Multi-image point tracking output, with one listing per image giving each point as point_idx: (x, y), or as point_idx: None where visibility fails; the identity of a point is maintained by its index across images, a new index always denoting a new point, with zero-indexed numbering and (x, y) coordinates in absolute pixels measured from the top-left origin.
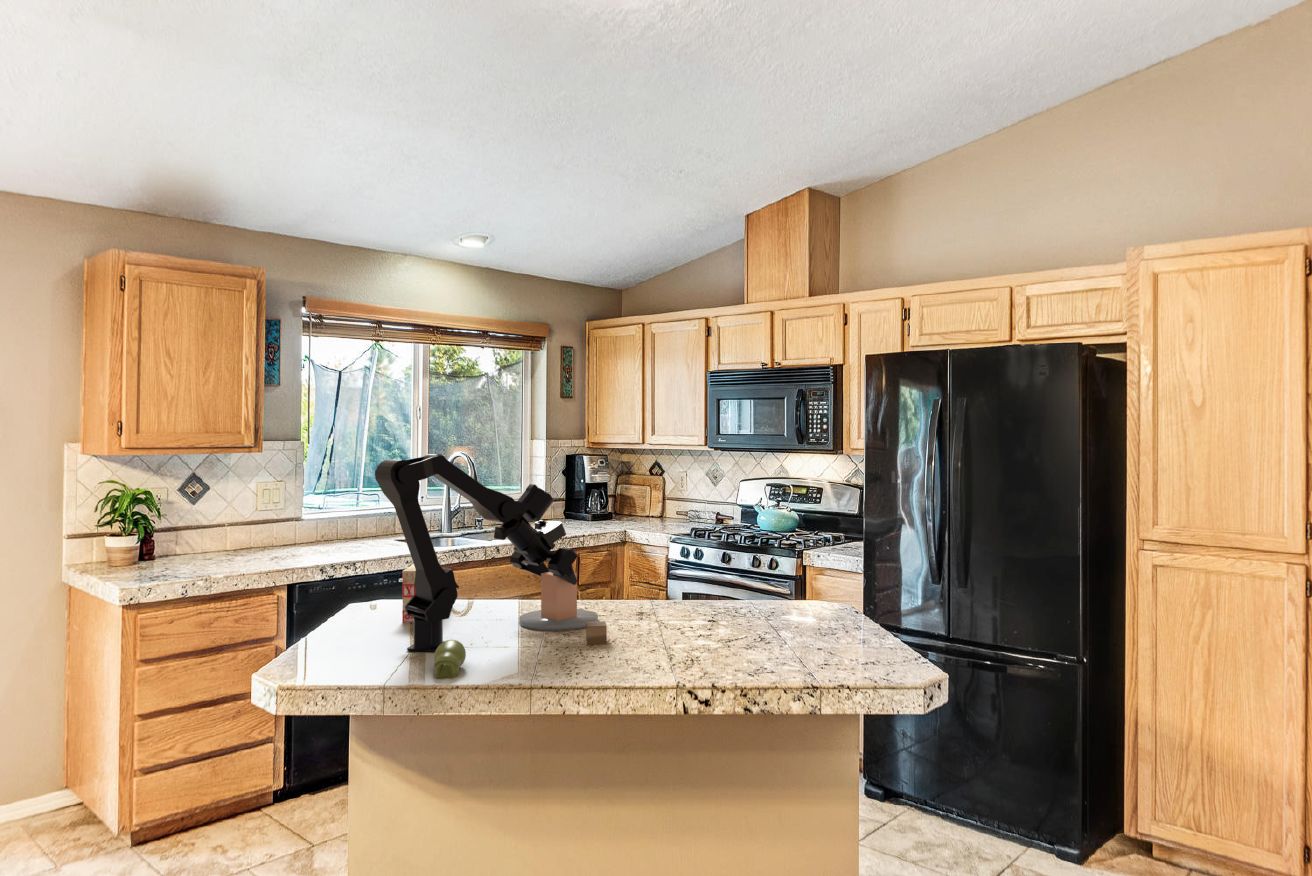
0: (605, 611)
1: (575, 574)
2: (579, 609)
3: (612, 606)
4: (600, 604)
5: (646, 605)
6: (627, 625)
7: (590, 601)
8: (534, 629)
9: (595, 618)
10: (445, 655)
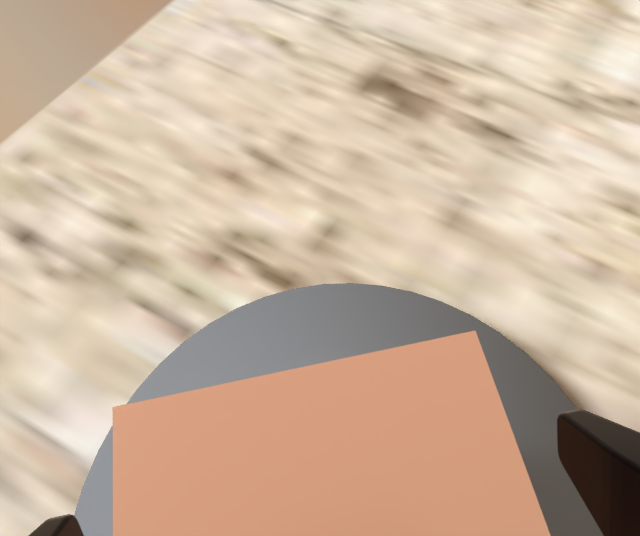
0: (257, 186)
1: (478, 356)
2: (231, 313)
3: (184, 119)
4: (108, 139)
5: (264, 18)
6: (617, 242)
7: (17, 146)
8: None
9: (523, 355)
10: None
